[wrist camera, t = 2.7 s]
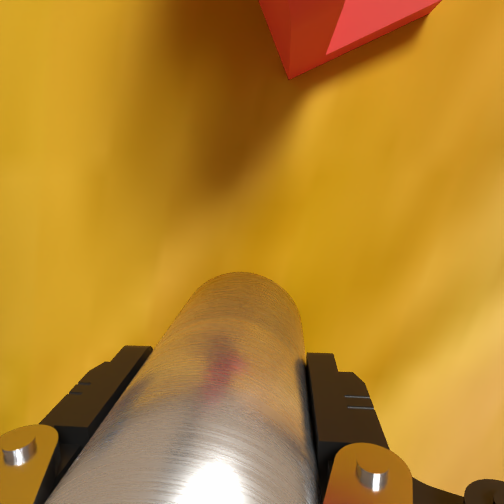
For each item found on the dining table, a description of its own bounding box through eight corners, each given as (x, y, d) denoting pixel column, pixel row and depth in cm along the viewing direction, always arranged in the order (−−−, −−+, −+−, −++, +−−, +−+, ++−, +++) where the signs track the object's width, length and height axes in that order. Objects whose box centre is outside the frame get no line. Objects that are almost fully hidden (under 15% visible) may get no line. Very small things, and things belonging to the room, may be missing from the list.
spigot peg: (179, 271, 14) (-78, 528, 4) (303, 273, 13) (358, 564, 4) (185, 381, 15) (-10, 804, 5) (300, 386, 14) (337, 854, 5)
